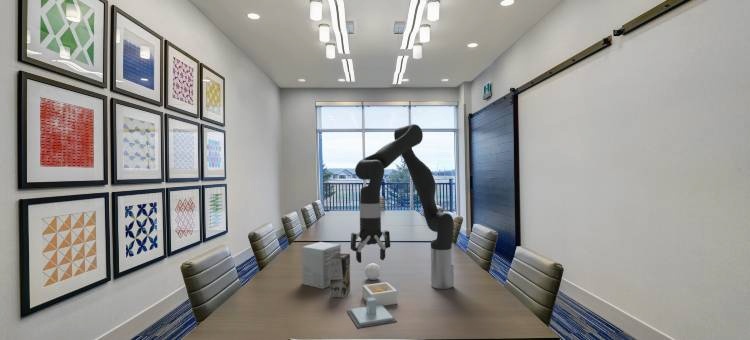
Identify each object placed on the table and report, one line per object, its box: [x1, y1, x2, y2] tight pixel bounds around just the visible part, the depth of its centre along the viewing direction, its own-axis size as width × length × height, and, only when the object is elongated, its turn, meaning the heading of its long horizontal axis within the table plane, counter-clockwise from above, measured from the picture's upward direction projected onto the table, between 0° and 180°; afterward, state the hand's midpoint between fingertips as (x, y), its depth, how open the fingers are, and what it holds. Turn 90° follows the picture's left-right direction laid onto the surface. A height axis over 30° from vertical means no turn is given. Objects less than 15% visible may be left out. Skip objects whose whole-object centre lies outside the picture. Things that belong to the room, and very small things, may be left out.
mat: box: [346, 305, 397, 329], centre depth 118 cm, size 14×14×1 cm
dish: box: [361, 281, 398, 307], centre depth 133 cm, size 11×11×5 cm
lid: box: [350, 297, 394, 325], centre depth 118 cm, size 12×12×6 cm
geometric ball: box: [364, 262, 382, 281], centre depth 159 cm, size 8×8×8 cm
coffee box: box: [329, 253, 351, 299], centre depth 141 cm, size 9×6×16 cm
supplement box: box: [301, 241, 342, 290], centre depth 155 cm, size 13×13×18 cm
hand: (370, 260), depth 118 cm, fingers open, 8 cm apart
